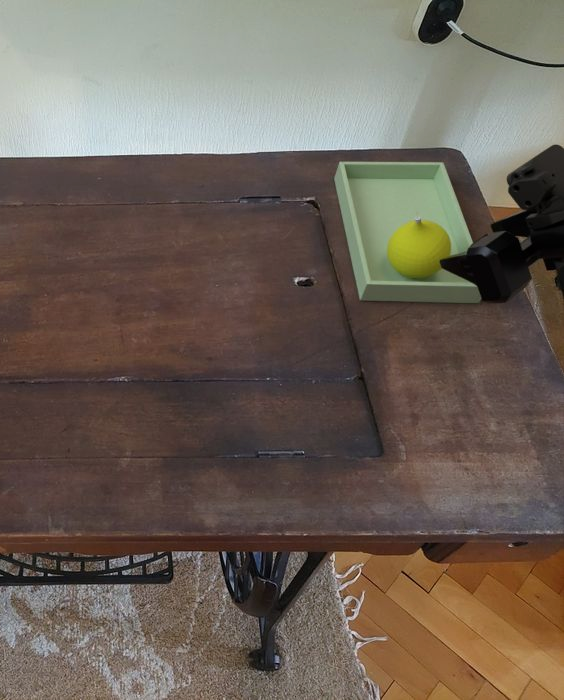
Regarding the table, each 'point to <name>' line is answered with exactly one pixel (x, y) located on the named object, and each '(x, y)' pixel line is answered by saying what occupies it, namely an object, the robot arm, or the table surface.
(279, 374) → the table surface
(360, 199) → the pale green tray
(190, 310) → the table surface
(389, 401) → the table surface
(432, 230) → the ornament
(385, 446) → the table surface
